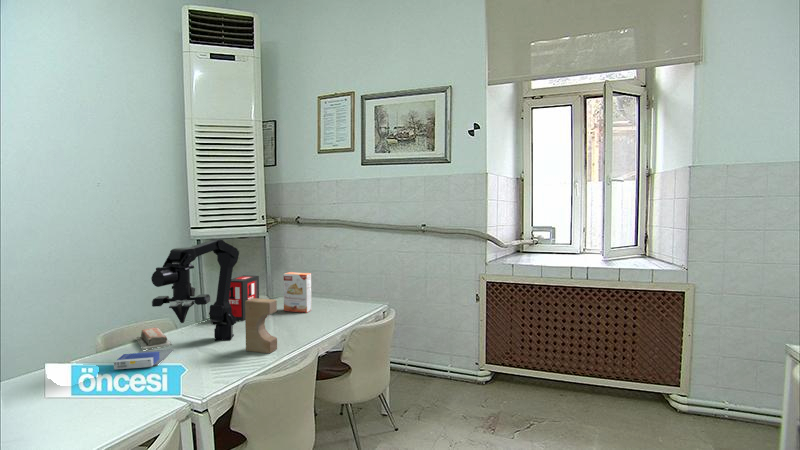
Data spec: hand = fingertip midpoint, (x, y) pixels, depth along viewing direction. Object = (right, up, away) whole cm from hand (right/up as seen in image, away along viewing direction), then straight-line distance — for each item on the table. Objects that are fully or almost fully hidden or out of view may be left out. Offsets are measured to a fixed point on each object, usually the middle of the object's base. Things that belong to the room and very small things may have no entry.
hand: (182, 322), depth 151 cm
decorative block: (+27, -13, +7) cm, 31 cm away
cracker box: (+26, -10, +68) cm, 73 cm away
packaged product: (-21, -13, +16) cm, 29 cm away
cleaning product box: (+1, -11, +57) cm, 58 cm away
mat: (-11, -13, -2) cm, 17 cm away
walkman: (-5, -11, -8) cm, 14 cm away
